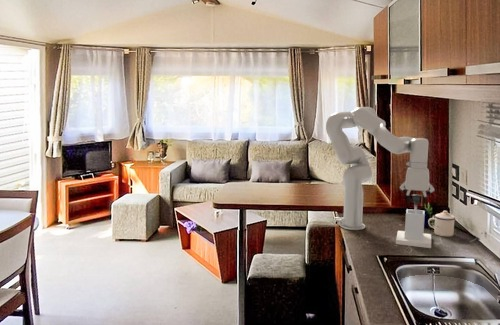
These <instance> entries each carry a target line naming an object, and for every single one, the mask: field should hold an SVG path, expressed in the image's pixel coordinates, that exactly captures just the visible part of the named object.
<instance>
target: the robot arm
mask: <svg viewBox="0 0 500 325" xmlns="http://www.w3.org/2000/svg"><path fill="white" fill-rule="evenodd" d="M386 125H387V124H386V121H385V120H384V119H382V118H380V117H379V116H378V114H377V111H376V109H374V108H373V107H370V106H359V107H356V108H355V109H353V110H352V111H338V112H334V113H332V114H330V115H329V117H327V120H326V123H325V130H326V131H325V132H326V134H327V135H328V139H329V141H330V142H331V145H332V148H333V150H334V153H335V156H336V157H337V159H338V161H339V163H340V164H341V165H343V166H349V165H350V166H349V167H347V168H346V169H345V170H344V171H343V175H342V181H343V188H344V189H343V190H344V192H343V194H344V195H343V217H342V216H341V217H338V216H335V217H334V221H335V222H337V223H339V226H340V227H341V228H342V229H345V230H350V231H361V230H364V229H365V228H366V225H365V224H364V223H363V212H364V211H363V208H364V189H363V184H364V183H367V182H369V181H370V180H371V179H372V177H373V169H372V168H371V165H370V162H369V161H368V158H367V156H366V154H365V151H364V150H363V148H361V146H358V145H352V144H351V143H350V140H349V138H348V136H347V135H346V133H345V132H344V131H343V129H349V128H352V129H353V128H356V127H361V128H362V129H364V130H366V132H368V133H369V134H371V135H372V136H373V137H374V139H375V141H376V142H377V143H378V144H379V145H380V146H381V147H383V149H384V148H385V149H386V150H387V151H389V152H390V153H392V154H395V155H401V154H407V153H410V154H409V161H407V162H406V163H405V164H406V166H408V167H407V169H406V174H405V181H403V183H401V185H400V186H399V190H402V192H403V193H404V194H405V195H406V202H407V205H410V203H411V194H410V193H411V191H417V192H418V191H419V192H422V198H421V205H422V206H423V207H424V206H425V204H426V203H427V202H426V201H427V197H428V196H429V195H430V194H431V193H433V192H435V188H434V186H433V185H432V184H431V183H430V170H429V168H428V159H429V158H428V157H429V155H428V154H429V140H428V139H427V138H425V137H424V138H422V137H412V136H400V137H399V136H396V135H394V133H392V132H390V131H389V130H388V129H387V128H386Z"/></svg>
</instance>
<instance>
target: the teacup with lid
mask: <svg viewBox="0 0 500 325" xmlns="http://www.w3.org/2000/svg"><path fill="white" fill-rule="evenodd" d="M427 220H428V221H427V223H428V226H429V227H430V228H432V229H434V232H433V233H434V234H435V235H437V236H441V237H447V238H448V237H452V236H454V234H455V233H454V231H455V230H454V229H455V221H456V216H454V215H453V214H451V213H449V212H448V210H443V211H442V212H440V213H436V214H435V215H434V217H430V218H429V219H427ZM432 220H434V226H433V225H432V224H431V221H432Z"/></svg>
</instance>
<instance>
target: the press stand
mask: <svg viewBox="0 0 500 325" xmlns="http://www.w3.org/2000/svg"><path fill="white" fill-rule="evenodd" d="M405 212H406V213H405V222H404V224H405V226H404V230H397V234H396V238H395V244H396V245H400V246H410V247H418V248H425V249H426V248H427V249H431V248H432V233H426V232H425V233H424V231H425V216H426V214H425V212H426V211H425V210H420V209H417V214H414V209H408V208H406V210H405Z"/></svg>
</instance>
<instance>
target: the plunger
mask: <svg viewBox="0 0 500 325" xmlns="http://www.w3.org/2000/svg"><path fill="white" fill-rule="evenodd" d="M422 198H423V194H418V193H417V194H416V193H413V194H410V203H413V204H414V205H413V206H414V207H413V208H414V209H413V210H414V214H417V210H418V204H420V203H422Z"/></svg>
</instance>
